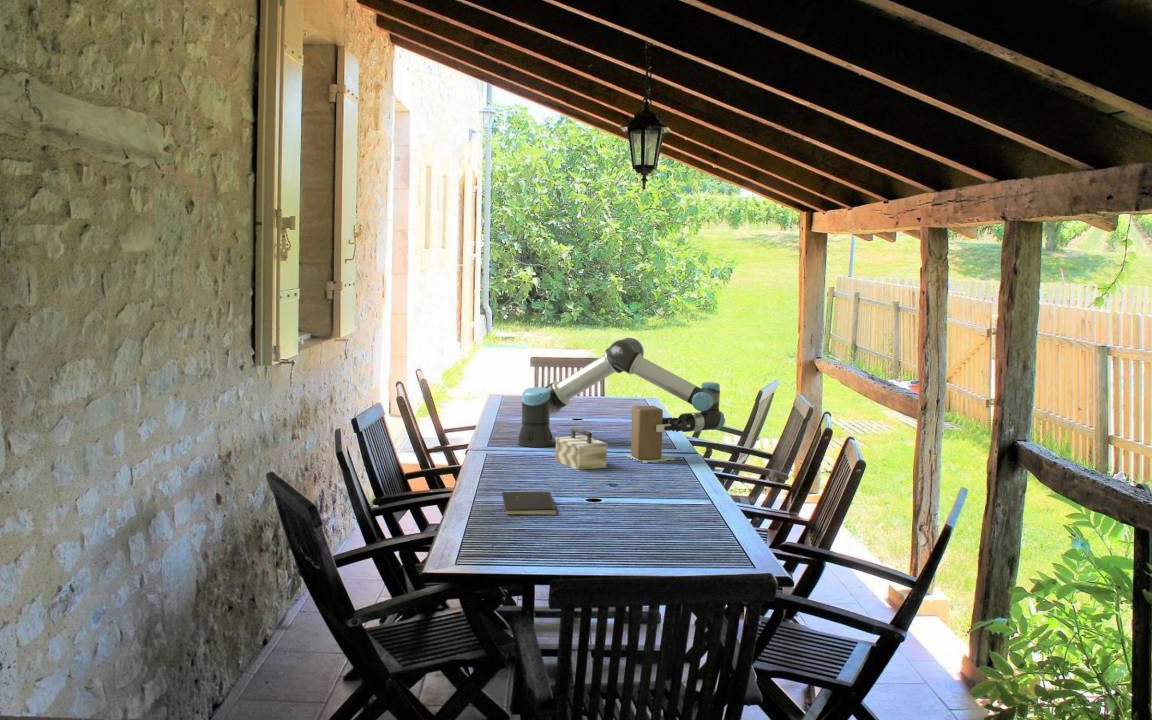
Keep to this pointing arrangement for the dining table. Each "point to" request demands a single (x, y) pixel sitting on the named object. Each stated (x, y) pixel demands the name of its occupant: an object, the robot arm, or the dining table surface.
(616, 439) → the dining table surface
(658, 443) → the wooden block
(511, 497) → the hardcover book
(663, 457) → the mat
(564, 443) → the toolbox
